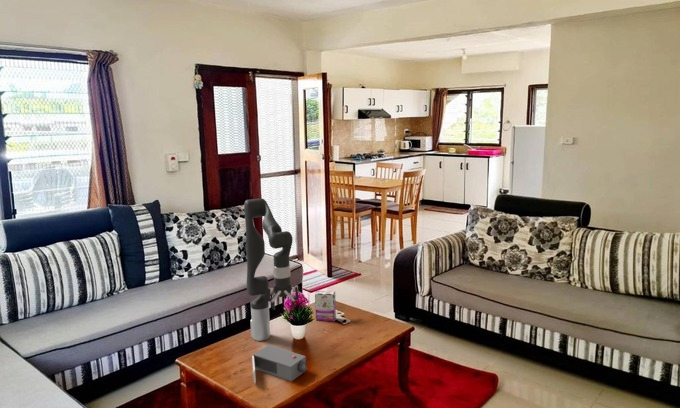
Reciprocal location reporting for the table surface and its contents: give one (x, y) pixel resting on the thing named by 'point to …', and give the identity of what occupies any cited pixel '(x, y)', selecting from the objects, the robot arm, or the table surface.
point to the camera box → (280, 362)
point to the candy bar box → (325, 305)
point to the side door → (253, 369)
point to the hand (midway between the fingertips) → (283, 308)
